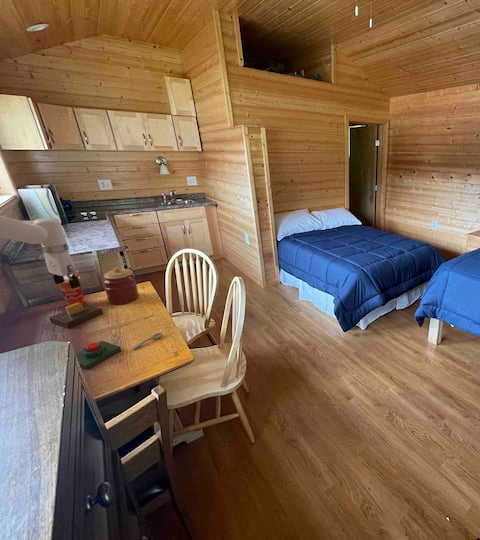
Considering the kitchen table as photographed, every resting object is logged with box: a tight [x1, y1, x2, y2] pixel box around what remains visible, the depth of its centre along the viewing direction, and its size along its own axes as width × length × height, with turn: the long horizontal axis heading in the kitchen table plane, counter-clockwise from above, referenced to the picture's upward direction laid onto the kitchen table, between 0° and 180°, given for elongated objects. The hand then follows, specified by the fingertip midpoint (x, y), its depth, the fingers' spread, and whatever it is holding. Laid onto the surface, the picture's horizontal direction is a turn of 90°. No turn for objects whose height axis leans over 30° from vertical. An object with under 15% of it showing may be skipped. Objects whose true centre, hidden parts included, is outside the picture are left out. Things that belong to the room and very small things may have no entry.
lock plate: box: [48, 303, 104, 330], centre depth 136 cm, size 14×11×3 cm
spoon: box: [130, 332, 163, 351], centre depth 125 cm, size 3×12×2 cm, turn 153°
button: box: [85, 342, 100, 352], centre depth 113 cm, size 4×4×2 cm
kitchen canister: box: [102, 266, 140, 305], centre depth 152 cm, size 13×13×18 cm
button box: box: [75, 340, 122, 371], centre depth 114 cm, size 12×10×4 cm
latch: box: [65, 302, 84, 316], centre depth 135 cm, size 6×2×4 cm, turn 162°
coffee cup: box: [58, 274, 85, 306], centre depth 145 cm, size 8×8×15 cm
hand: (68, 285), depth 130 cm, fingers open, 9 cm apart
